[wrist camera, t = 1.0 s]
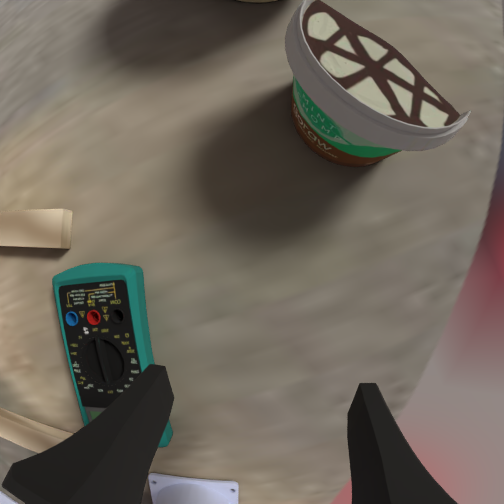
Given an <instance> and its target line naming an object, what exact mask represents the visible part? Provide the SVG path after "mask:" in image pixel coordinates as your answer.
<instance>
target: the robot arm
mask: <svg viewBox="0 0 504 504" xmlns="http://www.w3.org/2000/svg"><path fill="white" fill-rule="evenodd" d="M173 401H174V395H173V392H172V388H171V385H170V382H169V378H168V375H167V371H166V368H165V366H161V365H155V364H149V365H148V366H147V367H146V368H145V370H144V371H143V372H142V373H141V374H140V375H139V376H138V377H137V378H136V379H135V380H134V381H133V382H132V383H131V385H130V386H129V387H128V388H127V389H126V390H125V391H124V392H123V393H122V394H121V395H120V396H119V397H118V398H117V399H116V400H115V401H114V402H113V403H111V404H110V405H109V406H108V407H107V408H106V409H105V410H104V411H103V412H101V413H100V414H99V415H98V416H97V417H96V418H95V419H93V420H92V421H91V422H90V423H88V424H87V425H86V426H84V427H83V428H82V429H80V430H79V431H77V432H76V433H74V434H73V435H71V436H70V437H68V438H67V439H65V440H64V441H62V442H60V443H59V444H57V445H55V446H53V447H51V448H49V449H47V450H45V451H43V452H41V453H39V454H37V455H34V456H32V457H29V458H27V459H24V460H21V461H19V462H16V463H13V464H12V466H11V468H10V470H9V472H8V473H7V475H6V477H5V479H4V481H3V483H2V487H3V488H4V489H6V490H7V491H9V492H10V493H11V494H13V495H14V496H16V497H17V498H19V499H20V500H22V501H23V502H25V504H141V500H142V495H143V491H144V487H145V483H146V479H147V475H148V471H149V469H150V466H151V463H152V460H153V458H154V455H155V453H156V450H157V448H158V445H159V443H160V440H161V438H162V435H163V433H164V430H165V428H166V425H167V423H168V420H169V416H170V413H171V409H172V405H173ZM347 438H348V448H349V458H350V469H351V480H352V504H457V502H456V501H454V500H453V499H452V498H451V497H450V496H449V495H448V494H447V493H446V492H445V491H444V489H443V488H442V487H441V486H440V485H439V484H438V483H437V482H436V481H435V480H434V479H433V477H432V476H431V475H430V474H429V472H428V471H427V470H426V469H425V467H424V466H423V465H422V463H421V462H420V460H419V459H418V458H417V456H416V455H415V453H414V452H413V450H412V449H411V447H410V446H409V444H408V442H407V441H406V439H405V438H404V436H403V434H402V432H401V431H400V429H399V427H398V425H397V424H396V422H395V420H394V418H393V416H392V414H391V412H390V410H389V408H388V407H387V405H386V403H385V401H384V398H383V396H382V394H381V392H380V390H379V388H378V386H377V384H376V383H360V384H359V386H358V389H357V391H356V394H355V397H354V399H353V402H352V404H351V407H350V409H349V411H348V426H347ZM148 480H149V485H150V491H151V496H152V501H153V504H238V483H237V482H235V481H221V480H207V479H196V478H186V477H178V476H171V475H164V474H157V473H150V474H149V476H148ZM154 481H156V482H154ZM231 489H234V490H231ZM0 504H19V503H17V502H16V501H14V500H13V499H11V498H10V497H9V496H7V495H6V494H4V493H3V492H1V491H0Z"/></svg>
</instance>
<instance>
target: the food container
mask: <svg viewBox="0 0 504 504" xmlns="http://www.w3.org/2000/svg"><path fill="white" fill-rule="evenodd" d="M285 50H286V54H287V58H288V62H289V65H290V67H291V69H292V72H293V74H294V76H293V88H292V101H291V116H292V119H293V122H294V125H295V128H296V131H297V132H298V134H299V135H300V137H301V138H302V140H303V141H304V142H305V144H306V145H307V146H308V147H309V148H310V149H311V150H312V151H314V152H315V153H316V154H318V155H319V156H321V157H322V158H324V159H326V160H328V161H330V162H333V163H336V164H339V165H343V166H350V167H360V166H367V165H371V164H374V163H376V162H378V161H380V160H382V159H385V158H387V157H389V156H391V155H393V154H395V153H398V152H400V151H402V150H404V151H423V150H428V149H433V148H436V147H438V146H440V145H443V144H445V143H446V142H447V141H449V140H450V139H451V138H453V137H454V135H455V134H456V133H457V132H458V131H459V129H460V128H461V127H462V126H463V125H464V123H465V122H466V121H467V120H468V118H467V116H468V115H469V114H470V112H471V110H470V111H468V112H466V113H463V114H461V115H460V114H459V113H458V112H457V111H456V110H455V109H454V108H453V106H452V105H451V104H450V103H448V102H447V101H446V100H445V99H444V98H443V97H442V96H441V95H440V94H439V93H438V92H437V91H436V90H435V89H434V88H433V87H432V86H431V85H430V84H429V83H428V82H427V81H426V80H425V79H424V78H423V77H422V76H421V75H420V73H419V72H418V71H417V70H416V69H415V68H414V67H413V66H412V65H411V64H410V63H409V61H408V60H407V59H406V58H405V57H404V56H403V55H402V54H401V53H400V52H398V51H397V50H396V49H395V48H394V47H393V46H391V45H390V44H388V43H387V42H386V41H384V40H383V39H381V38H380V37H378V36H376V35H375V34H373V33H371V32H369V31H368V30H366V29H364V28H363V27H361V26H359V25H358V24H356V23H354V22H353V21H351V20H350V19H348V18H347V17H345V16H344V15H342V14H341V13H339V12H337V11H336V10H334V9H333V8H331V7H330V6H328V5H327V4H325V3H323V2H322V1H320V0H303V1H302V2H301V3H300V5H299V6H298V8H297V10H296V11H295V13H294V15H293V17H292V19H291V21H290V23H289V25H288V27H287V31H286V36H285Z"/></svg>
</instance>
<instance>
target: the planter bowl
mask: <svg viewBox="0 0 504 504" xmlns="http://www.w3.org/2000/svg"><path fill="white" fill-rule="evenodd" d="M238 1H244V2H271V1H276V0H238Z"/></svg>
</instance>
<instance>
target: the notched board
mask: <svg viewBox="0 0 504 504" xmlns="http://www.w3.org/2000/svg"><path fill="white" fill-rule="evenodd" d="M72 213H73V211H70V210H66V209H39V210H15V211H0V246H14V247H40V248H66V249H70V242H71V226H72ZM71 435H73V433H70V432H66V431H63V430H60V429H57V428H54V427H50V426H47V425H45V424H42V423H39V422H36V421H33V420H30V419H28V418H25V417H22V416H20V415H17V414H15V413H12V412H10V411H7V410H5V409H3V408H0V436H1V437H3V438H5V439H7V440H9V441H11V442H14V443H16V444H18V445H20V446H23V447H25V448H27V449H30V450H32V451H35V452H37V453H41V452H43V451H45V450H47V449H49V448H51V447H53V446H55V445H57V444H59V443H60V442H62V441H64V440H65V439H67V438H68V437H70V436H71Z"/></svg>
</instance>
